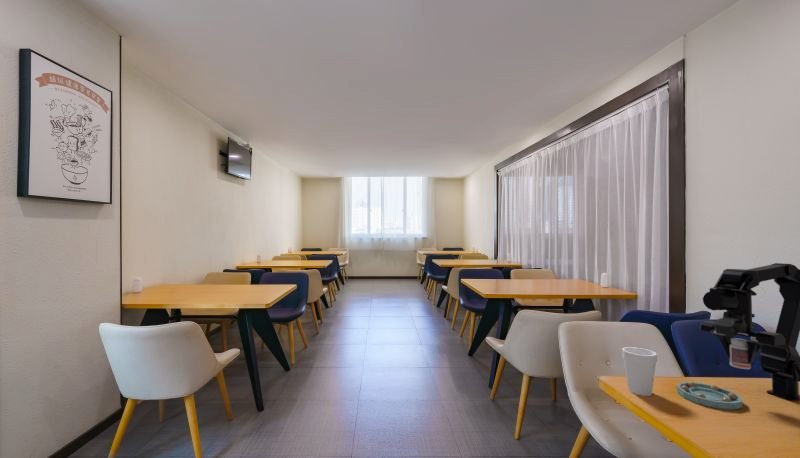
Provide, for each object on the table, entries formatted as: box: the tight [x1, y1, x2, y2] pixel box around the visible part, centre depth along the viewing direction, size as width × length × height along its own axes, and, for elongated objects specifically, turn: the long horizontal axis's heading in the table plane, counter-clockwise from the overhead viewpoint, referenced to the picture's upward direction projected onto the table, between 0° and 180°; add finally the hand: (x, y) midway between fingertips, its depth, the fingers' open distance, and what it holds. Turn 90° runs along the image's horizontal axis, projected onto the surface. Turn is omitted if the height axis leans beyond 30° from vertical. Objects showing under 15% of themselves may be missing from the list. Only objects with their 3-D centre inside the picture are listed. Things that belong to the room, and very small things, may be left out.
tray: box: [676, 381, 743, 411], centre depth 108 cm, size 15×15×3 cm
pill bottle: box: [729, 337, 752, 370], centre depth 108 cm, size 5×5×8 cm
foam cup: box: [621, 346, 658, 397], centre depth 113 cm, size 10×9×13 cm
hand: (740, 360), depth 108 cm, fingers closed on pill bottle, 5 cm apart
